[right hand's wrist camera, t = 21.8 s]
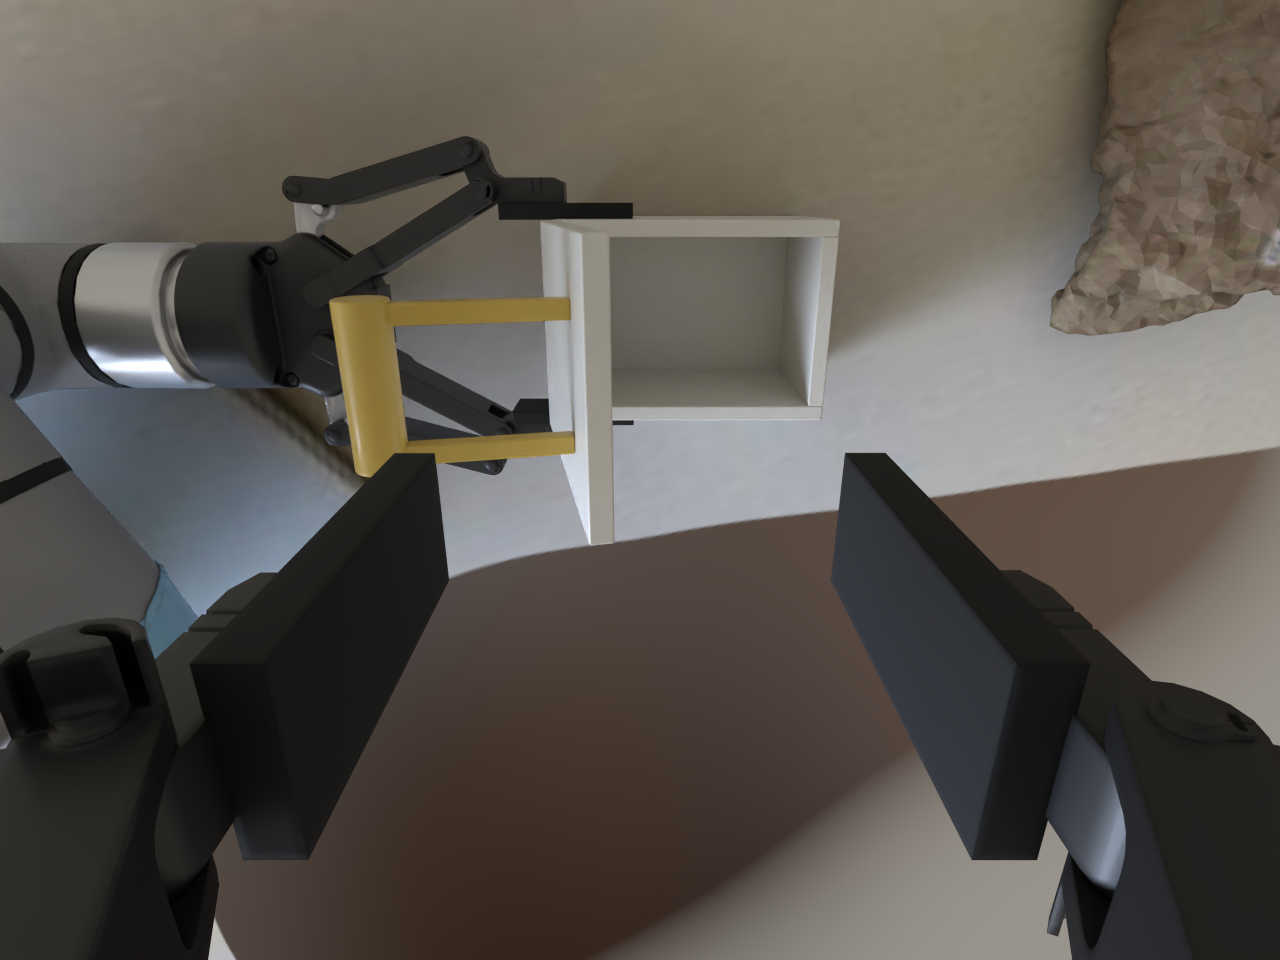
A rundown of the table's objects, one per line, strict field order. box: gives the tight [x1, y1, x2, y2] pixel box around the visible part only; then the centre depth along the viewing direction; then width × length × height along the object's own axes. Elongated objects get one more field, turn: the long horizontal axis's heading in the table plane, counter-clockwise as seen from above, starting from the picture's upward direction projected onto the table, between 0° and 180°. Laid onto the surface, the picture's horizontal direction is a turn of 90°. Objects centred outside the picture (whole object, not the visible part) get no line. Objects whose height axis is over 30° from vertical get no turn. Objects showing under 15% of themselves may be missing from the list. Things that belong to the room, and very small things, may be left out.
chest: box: [554, 216, 840, 420], centre depth 39 cm, size 14×10×9 cm
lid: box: [329, 220, 614, 545], centre depth 27 cm, size 14×10×8 cm
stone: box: [1050, 0, 1280, 336], centre depth 38 cm, size 21×15×6 cm
